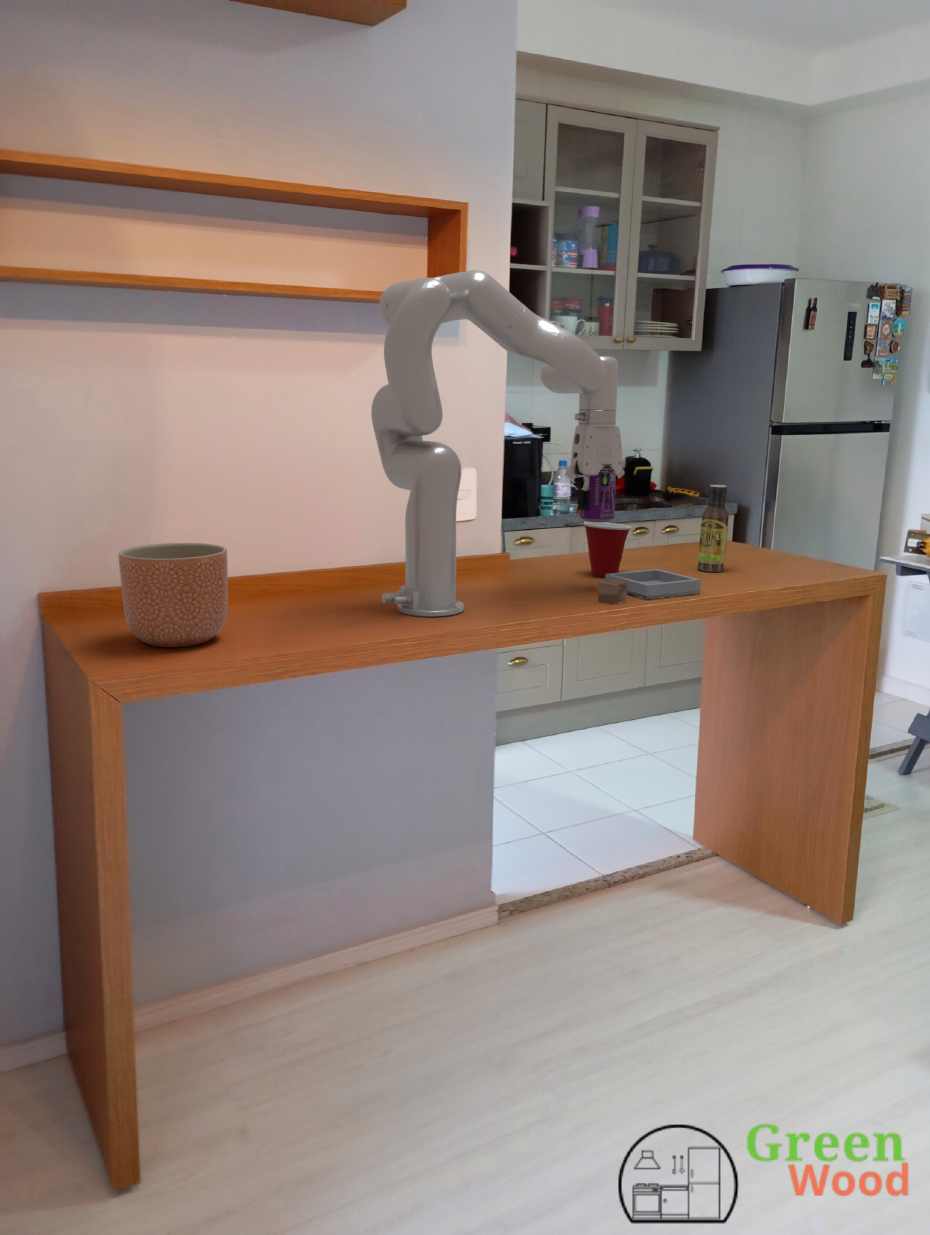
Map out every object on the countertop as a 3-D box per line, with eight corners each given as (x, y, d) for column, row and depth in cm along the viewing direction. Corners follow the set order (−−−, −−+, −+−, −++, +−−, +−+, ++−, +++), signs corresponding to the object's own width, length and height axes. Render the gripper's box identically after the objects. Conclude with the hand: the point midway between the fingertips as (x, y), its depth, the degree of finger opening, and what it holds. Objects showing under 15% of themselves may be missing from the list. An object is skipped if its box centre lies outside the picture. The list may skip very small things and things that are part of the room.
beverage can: (613, 523, 205) (615, 464, 202) (578, 522, 206) (580, 463, 204) (615, 519, 212) (617, 461, 209) (581, 518, 213) (583, 461, 211)
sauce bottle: (693, 571, 235) (698, 485, 231) (702, 567, 240) (708, 483, 236) (719, 574, 232) (725, 487, 227) (729, 570, 237) (734, 485, 232)
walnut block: (615, 605, 198) (615, 585, 197) (598, 602, 201) (598, 582, 200) (626, 602, 201) (627, 582, 200) (609, 599, 204) (610, 579, 203)
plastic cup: (638, 578, 226) (641, 524, 223) (596, 581, 222) (598, 526, 219) (614, 569, 236) (616, 518, 233) (573, 572, 232) (575, 520, 229)
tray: (646, 600, 202) (647, 585, 202) (604, 587, 214) (605, 574, 214) (700, 593, 209) (700, 579, 208) (656, 582, 221) (657, 568, 220)
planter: (244, 645, 165) (240, 554, 161) (137, 659, 156) (131, 562, 153) (214, 624, 179) (209, 540, 175) (115, 635, 171) (108, 546, 167)
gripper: (573, 420, 197) (570, 513, 201) (641, 419, 205) (637, 509, 209) (552, 418, 203) (549, 509, 207) (619, 418, 211) (615, 505, 215)
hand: (593, 508), depth 208 cm, fingers closed on beverage can, 4 cm apart
